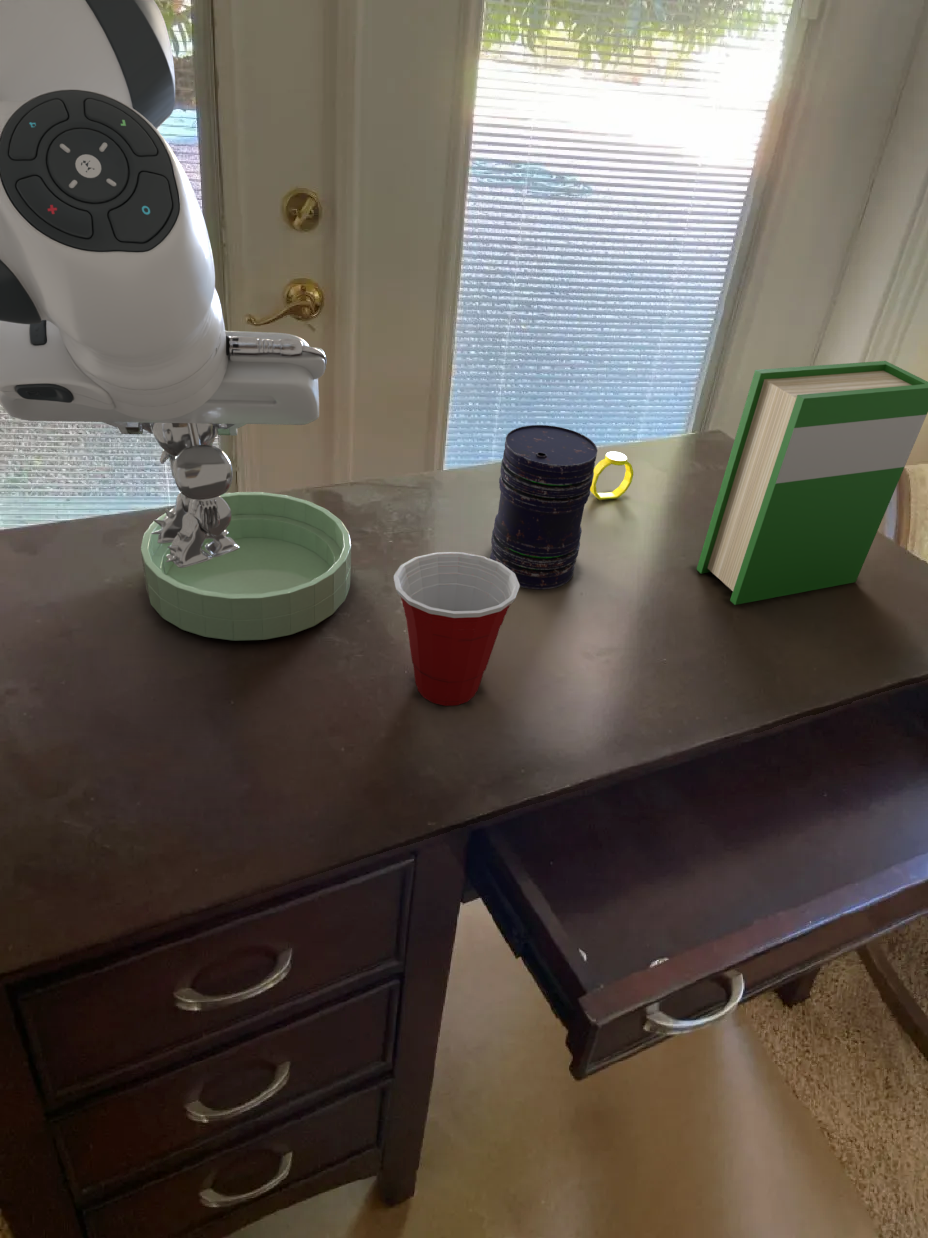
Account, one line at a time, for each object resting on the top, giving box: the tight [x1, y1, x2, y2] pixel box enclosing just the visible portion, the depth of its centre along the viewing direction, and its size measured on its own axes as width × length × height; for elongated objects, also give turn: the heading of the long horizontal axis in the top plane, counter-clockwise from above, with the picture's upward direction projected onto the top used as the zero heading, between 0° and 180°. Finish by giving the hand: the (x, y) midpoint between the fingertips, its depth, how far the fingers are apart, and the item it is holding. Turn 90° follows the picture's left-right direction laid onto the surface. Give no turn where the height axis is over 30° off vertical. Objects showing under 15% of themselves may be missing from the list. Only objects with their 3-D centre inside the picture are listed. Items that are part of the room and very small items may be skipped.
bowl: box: [140, 491, 352, 642], centre depth 91 cm, size 20×20×6 cm
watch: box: [590, 451, 635, 501], centre depth 114 cm, size 6×3×6 cm, turn 115°
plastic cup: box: [393, 551, 521, 707], centre depth 79 cm, size 11×11×12 cm
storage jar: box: [489, 424, 598, 590], centre depth 96 cm, size 10×10×15 cm
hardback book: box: [696, 360, 928, 606], centre depth 97 cm, size 18×7×24 cm, turn 113°
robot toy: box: [142, 423, 239, 568], centre depth 66 cm, size 15×6×15 cm, turn 29°
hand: (180, 425), depth 66 cm, fingers closed on robot toy, 5 cm apart
